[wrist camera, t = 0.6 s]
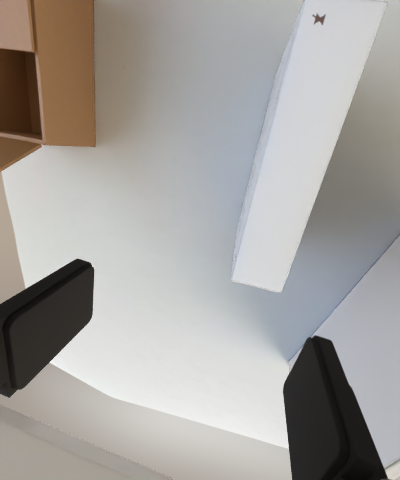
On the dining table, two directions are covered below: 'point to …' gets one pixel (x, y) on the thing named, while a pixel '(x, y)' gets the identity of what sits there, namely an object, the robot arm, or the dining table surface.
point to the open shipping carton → (47, 71)
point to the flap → (14, 151)
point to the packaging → (372, 352)
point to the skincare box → (301, 134)
